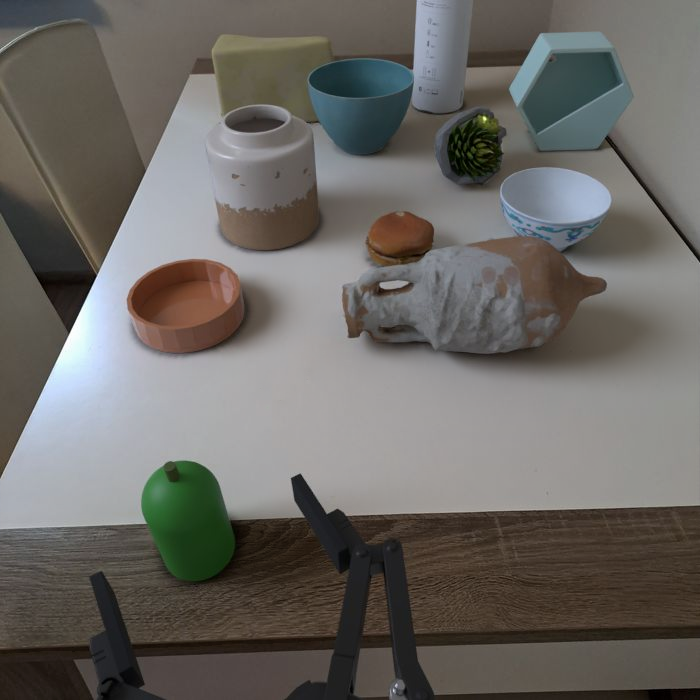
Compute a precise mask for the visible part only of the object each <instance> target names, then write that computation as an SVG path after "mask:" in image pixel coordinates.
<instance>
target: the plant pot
mask: <svg viewBox="0 0 700 700" xmlns="http://www.w3.org/2000/svg"><path fill="white" fill-rule="evenodd" d="M413 85H414V75H413V71H412V70H411V69H410V68H409V67H407V66H405V65H404V64H401V63H398V62H396V61H391V60H387V59H381V58H380V59H379V58H370V57H369V58H346V59H340V60H336V61H335V60H334V62H331V63H328V64H325V65H322V66H320V67H318V68H316V69H315V70H313V71H312V72H311V73H310V74H309V76H308V88H309V93H310V98H311V101H312V105H313V108H314V110H315V113H316V115H317V118H318V120H319V121H318V122H319V123H320V125H321V127H322V129H323V130H324V132H325V133H326V135H327V136H328V137H329V138H330V139H331V140H332V142H333V144H335V145H336V146H337V147H338V148H339V149H340V150H342V151H344V152H345V153H348V154H351V155H369V154H373V153H377V152H379V151H381V150H382V149H383V148H385V146H386V145H388V143H389V142H390V141H391V140H392V138H393V137H394V136H395V135H396V133H397V132H398V130H399V128H400V127H401V125H402V123H403V121H404V120H405V117H406V115H407V112H408V109H409V106H410V104H411V101H412V91H413Z"/></svg>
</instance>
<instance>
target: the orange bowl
mask: <svg viewBox="0 0 700 700" xmlns="http://www.w3.org/2000/svg"><path fill="white" fill-rule="evenodd" d="M126 307H127V311H128V315H129V317H130V321H131V323H132V326H133V329H134V331H135V333H136V335H137V336H138V338H139V340H140V341H142V342H143V343H144V345H146V346H148V347H150V348H152V349H154V350H156V351H161V352H163V353H171V354H185V353H194V352H198V351H203V350H206V349H209V348H211V347H213V346H216V345H218V344H220V343H222V342H223V341H225V340H227V338H229V337H230V336H232V335H233V334H234V333H235V332H236V331H237V329H238V328H239V327H240V325H241V324H242V321H243V319H244V318H245V312H246V311H245V310H246V309H245V300H244V295H243V289H242V284H241V281H240V278H239V276H238V274H237V273H236V272H235V271H234V270H233V269H232V268H231V267H229V266H227V265H225V264H223V263H221V262H220V261H215V260H211V259H205V258H189V259H179V260H174V261H171V262H168V263H164V264H161V265H159V266H157V267H155V268H153V269H151V270H149V271H147V272H146V273H144V274H143V275H142V276H141V277H140V278H138V279H136V281H135V282H134V284H133V285H132V286H131V287H130V288H129V291H128V294H127V297H126Z"/></svg>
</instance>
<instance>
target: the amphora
mask: <svg viewBox="0 0 700 700" xmlns="http://www.w3.org/2000/svg"><path fill="white" fill-rule="evenodd" d="M396 281H401V282H408V283H407V284H405V285H403V286H401V287H396V288H395V287H394V288H383V287H381V286H380V284H381V283H388V282H396ZM607 287H608V282H607V281H606V280H605V279H604V278H602V277H598V276H588V275H586V274H583V273H581V272H580V271H578V270H577V269H576V268H575V267H574V266H573V264H572V263H571V262H570V261H569V260H568V259H567V257H566V256H565V255H563V253H562V251H558V250H557V249H556V248H555V247H554V246H553V245H551V244H550V243H548V242H546V241H545V240H543V239H540V238H537V237H531V236H520V237H519V236H509V237H499V238H493V237H489V238H488V239H487V240H482V241H476V242H470V243H465V244H457V245H450V246H445V247H441V248H434V249H431V250H430V251H429V252H427V253H426V254H425V256H424V257H423V258H422V259H421V260H420V261H418V262H414V263H409V264H404V265H393V266H387V267H384V266H382V267H372V268H369V269H368V270H366V271H365V272H363V273H362V274H361V275H360V277H359V279H358V280H356V281H353V282H351V283H344V284H343V285H342V287H341V288H342V293H341V302H342V309H343V310H342V311H343V313H344V319H345V321H344V322H345V325H346V327H347V336H346V337H347V338H348V339H356V338H357V339H358V338H360V336H361V334H362V333H364V332H366V333H367V334H368V336H369V337H370V339H371V340H372V341H373V342H376V343H410V342H420V343H422V342H424V343H428V344H430V345H431V346H432V348H433V349H434V350H435V351H436V352H439V351H444V352H457V353H458V352H459V353H460V352H461V353H462V352H463V353H471V354H498V353H509V352H512V351H515V350H522V349H528V348H529V349H530V348H534V347H538V348H539V347H540V346H542V345H545V344H547V343H550V342H552V341H553V340H555V339H556V338H557V337H558V336H559V335H560V334H561V333H562V332H563V331H564V330H565V328H566V327H567V325H568V324H569V322H570V321H571V320H572V318H573V317H574V314H575V312H576V311H577V309H578V307H579V305H580V303H581V302H582V301H583V300H584V299H587V298H589V297H592V296H597V295H599V294H601V293H604V292H606V290H607ZM390 325H392V326H390ZM393 325H394V326H393Z"/></svg>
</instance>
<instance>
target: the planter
mask: <svg viewBox="0 0 700 700" xmlns="http://www.w3.org/2000/svg"><path fill="white" fill-rule="evenodd" d="M617 52H618V51H617V49H616V48H615V46H614V45H613V44H612V42H611V41H610V40H609V39H608V38H607V37H606V35H605V34H604V33H603V32H602V31H598V30H597V31H568V32H564V31H563V32H541V33H539V35H538V36H537V38H536V40H535V42H534V44H533V45H532V47H531V49H530V50H529V52H528V54H527V56H526V57H525V60H524V62H523V63H522V65H521V67H520V69H518V72H517V74H516V76H515V77H514V79H513V81H512V83H511V85H510V86H509V88H508V91H509V93H510V95H511V97H512V100H513V102H514V104H515V107H516V109H517V111H518V112H519V114H520V116H521V118H522V120H523V122H524V125H526V127H527V129H528V132H529V133H530V135H531V137H532V139H533V141H534V142H535V145H536V146H537V148H538V150H539V151H541V152H547V151H548V152H549V151H550V152H551V151H586V150H589V151H590V150H597V149H599V148H600V146H601V145H602V143H603V142H604V141H605V138H607V136H608V134H609V133H610V132H611V130H612V129H613V127H614V126H615V125H616V124H617V122H618V121H619V120H620V118H621V117H622V115H623V114H624V112H625V111H626V109H627V108H628V106H629V105H630V103H631V102H632V100H633V99H634V98H635V96H634V93H633V90H632V87H631V85H630V82H629V79H628V78H627V75H626V73H625V70H624V67H623V65H622V62H621V60H620V58H619V55H618V53H617ZM552 56H555V59H554V60H552V61H550V59H551V58H552Z"/></svg>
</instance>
